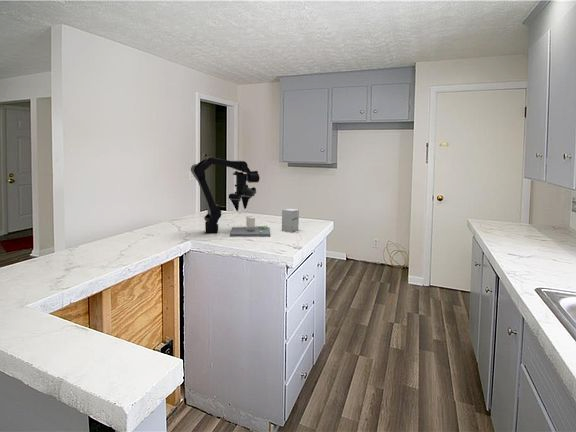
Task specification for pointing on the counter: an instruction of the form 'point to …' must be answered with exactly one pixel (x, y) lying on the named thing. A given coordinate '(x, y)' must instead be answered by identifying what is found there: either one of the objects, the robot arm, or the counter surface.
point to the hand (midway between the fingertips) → (241, 209)
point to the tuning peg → (251, 223)
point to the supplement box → (290, 220)
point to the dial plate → (250, 232)
